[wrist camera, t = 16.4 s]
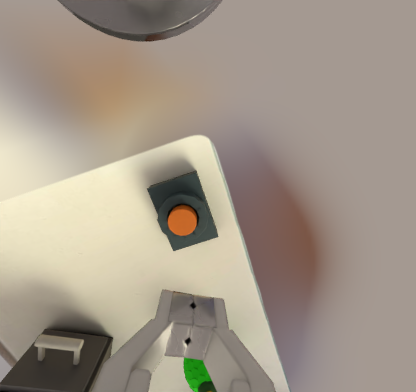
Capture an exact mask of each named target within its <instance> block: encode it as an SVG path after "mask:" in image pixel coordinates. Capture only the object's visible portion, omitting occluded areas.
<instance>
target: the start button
mask: <svg viewBox="0 0 416 392" xmlns="http://www.w3.org/2000/svg"><path fill="white" fill-rule="evenodd" d="M196 224H197V215H196V212H195V211H194V210H193V209H192V208H191V207H190V206H187V205H179V206H177V207H175V208H174V209H173V210H172V211H171V213H170V215H169V218H168V226H169V228H170V230H171V231H172V232H173V233H175V234H177V235H180V236H184V235H188V234H190V233H192V232H193V231H194V229H195V227H196Z"/></svg>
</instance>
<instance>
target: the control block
mask: <svg viewBox="0 0 416 392" xmlns="http://www.w3.org/2000/svg"><path fill="white" fill-rule="evenodd" d="M147 190H148V192H149V195H150V197H151V199H152V202H153V204H154V207H155V209H156V211H157V214H158V223H159V225H160V227H161V230H162V232H163V233H165V234H166V235H167V237H168V240H169V242H170V244H171V247H172V249H173V251H176V250H179V249H182V248H185V247H188V246H191V245H194V244H198V243H201V242H204V241H207V240H210V239H213V238H216V237H218V233H217V229H216V226H215V223H214V221H213V218H212V215H211V212H210V209H209V206H208V203H207V200H206V197H205V194H204V191H203V189H202V186H201V183H200V180H199V177H198V174H197V171H193V172H190V173H187V174H185V175H182V176H179V177H176V178H173V179H170V180H167V181H164V182H161V183H158V184H155V185H152V186H150V187H149V188H148V189H147ZM179 205H187V206H190V207H191V208H192V209H193V210H194V211H195V212H196V215H197V224H196V227H195V229H194V231H193V232H192V233H190V234H188V235H184V236H180V235H177V234H175V233H173V232H172V231H171V230H170V228H169V226H168V218H169V215H170V213H171V211H172V210H173V209H174V208H175V207H177V206H179Z"/></svg>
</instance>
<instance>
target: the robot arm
mask: <svg viewBox="0 0 416 392" xmlns="http://www.w3.org/2000/svg"><path fill="white" fill-rule="evenodd" d="M164 356H173V357H184V358H191V359H198V360H203V362H204V365H205V367H206V369H207V371H208V373H209V375H210V378H211V380H212V382H213V384H214V386H215V388H216V391H217V392H276V391H275V388H274V384H273V382H272V380H271V379H270V378H269V377H268V375H267V374H266V373H265V372H264V370H263V369H262V368H261V366H260V365H259V364H258V363H257V361H256V360H255V359H254V357H253V356H252V355H251V354H250V352H249V351H248V350H247V348H246V347H245V346H244V345H243V343H242V342H241V341H240V340H239V338H238V337H237V336H236V334H235V333H234V332H233V331H232V330H229V327H228V321H227V315H226V309H225V303H224V300H223V299H222V298H214V297H213V298H212V297H206V296H199V295H192V294H187V293H181V292H175V291H168V290H162V292H161V297H160V301H159V305H158V309H157V313H156V317H155V320H154V319H151V320H150V321H149V322H148V323H147V324H146V325H145V326H144V327H143V328H141V329H140V330H139V331H138V332H137V333H136V334H135V335H134V336H133V337H132V338H131V339H130V340H129V341H127V342H126V343H125V344H124V345H123V346H122V347H121V348H120V349H119V350H118V351H117V352H116V353H115V354H113V355H112V356H111V357H110V358H109V359H108V360H107V361H106V362H105V363H104V364H103V367H102V369H101V371H100V374H99V376H98V378H97V380H96V383H95V385H94V387H93V390H92V392H148V390H149V385H150V380H151V375H152V373H153V372H154V370H155V369H156V368H157V366H158V365H159V363H160V362H161V361H162V359H163V358H164Z"/></svg>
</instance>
